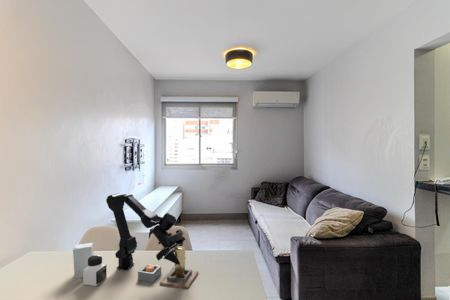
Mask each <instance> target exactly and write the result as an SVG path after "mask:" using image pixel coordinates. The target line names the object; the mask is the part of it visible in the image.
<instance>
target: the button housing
mask: <svg viewBox="0 0 450 300" xmlns="http://www.w3.org/2000/svg"><path fill="white" fill-rule="evenodd" d="M150 265H152V266H154V271H153V272H146V267H147V266H150ZM160 275H162V265H158V264H152V263H151V264H150V263H146V264H145V265H144V266H143V267H141V269H139V270H138V271H137V280H138V281H142V282H148V283H154V282H155V281H156V280H157V279H158V278H159V277H160Z"/></svg>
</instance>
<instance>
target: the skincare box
mask: <svg viewBox="0 0 450 300" xmlns="http://www.w3.org/2000/svg"><path fill="white" fill-rule="evenodd" d="M72 253H73V274H74V275H73V277H74V279H78V278H83V270H84V269H85V268H87V267H88V258H89V257H91V256H93V255H94V242H87V243H81V244H80V243H79V244H75V245H74V248H73V249H72Z"/></svg>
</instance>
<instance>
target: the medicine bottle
mask: <svg viewBox="0 0 450 300" xmlns="http://www.w3.org/2000/svg"><path fill="white" fill-rule="evenodd" d="M82 278H83V282H82V283H83V285H84V286H85V285H86V286H93V287H97V286H99V285H100V284H101V283H103V282H104V281H105V280H106V279H107V264H106V263H103V256H102V255H101V254H95V255H93V256H91V257H89V258H88V267H87V268H85V269H84V270H83V277H82Z"/></svg>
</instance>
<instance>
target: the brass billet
mask: <svg viewBox="0 0 450 300" xmlns="http://www.w3.org/2000/svg"><path fill="white" fill-rule="evenodd" d="M174 250H175V252H174V254H175V256H176V257H177V259H178V260H179V262H180V264H179V265H177V264H175V263H174V268H175V277H183V276H185V269H186V259H185V258H186V247H185V246H178V247H175V249H174Z"/></svg>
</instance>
